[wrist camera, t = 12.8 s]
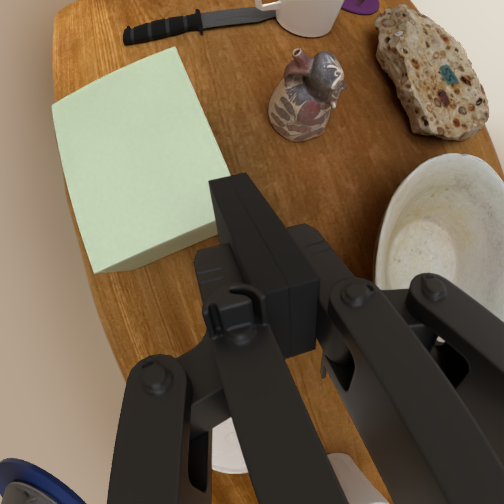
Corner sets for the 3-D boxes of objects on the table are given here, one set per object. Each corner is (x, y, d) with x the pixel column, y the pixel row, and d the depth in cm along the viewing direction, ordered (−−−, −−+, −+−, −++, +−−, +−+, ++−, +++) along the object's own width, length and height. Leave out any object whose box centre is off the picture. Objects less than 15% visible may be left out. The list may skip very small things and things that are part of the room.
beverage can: (196, 351, 33) (179, 395, 21) (270, 351, 34) (290, 395, 22) (198, 415, 33) (186, 476, 21) (268, 415, 33) (284, 476, 21)
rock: (476, 137, 37) (512, 126, 27) (402, 159, 40) (431, 149, 30) (422, 24, 35) (444, -6, 25) (346, 36, 37) (358, 1, 28)
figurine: (316, 152, 34) (353, 106, 23) (258, 128, 34) (270, 71, 22) (333, 104, 35) (370, 50, 23) (279, 82, 34) (297, 19, 22)
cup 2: (370, 456, 34) (407, 507, 22) (334, 495, 34) (361, 549, 22) (326, 440, 34) (358, 497, 22) (290, 481, 33) (308, 542, 21)
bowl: (503, 275, 36) (551, 277, 26) (403, 396, 34) (445, 427, 25) (425, 141, 36) (470, 114, 26) (295, 256, 34) (321, 254, 24)
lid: (54, 108, 23) (50, 105, 22) (176, 50, 24) (175, 45, 23) (97, 273, 23) (93, 274, 22) (244, 210, 24) (244, 208, 23)
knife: (301, -2, 34) (311, 20, 34) (299, 5, 35) (309, 27, 35) (122, 23, 32) (122, 47, 32) (125, 30, 33) (125, 54, 33)
